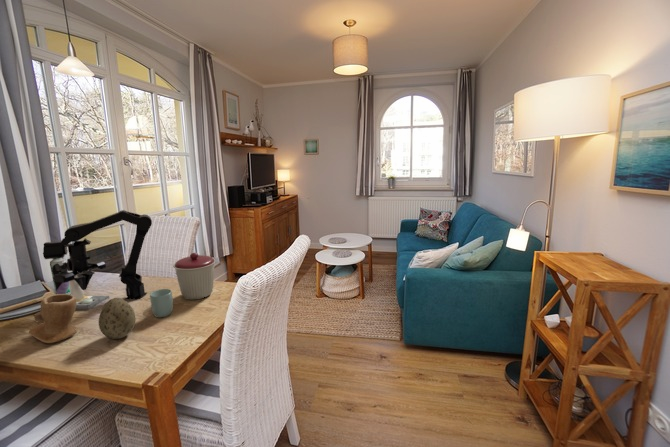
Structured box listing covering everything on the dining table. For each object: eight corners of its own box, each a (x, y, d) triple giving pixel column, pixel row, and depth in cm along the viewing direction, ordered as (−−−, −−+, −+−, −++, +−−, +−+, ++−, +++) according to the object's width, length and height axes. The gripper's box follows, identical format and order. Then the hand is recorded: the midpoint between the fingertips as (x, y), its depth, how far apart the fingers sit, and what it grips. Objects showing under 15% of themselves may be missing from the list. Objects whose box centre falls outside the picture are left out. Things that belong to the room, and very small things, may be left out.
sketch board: (109, 297, 142) (108, 293, 142) (89, 309, 130) (88, 305, 130) (75, 297, 142) (74, 293, 142) (51, 309, 130) (50, 305, 130)
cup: (176, 314, 127) (174, 292, 125) (156, 321, 121) (153, 298, 119) (169, 308, 132) (167, 287, 130) (149, 315, 126) (147, 292, 124)
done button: (95, 301, 136) (94, 298, 135) (88, 306, 132) (87, 302, 131) (86, 301, 136) (85, 298, 135) (78, 306, 132) (78, 302, 131)
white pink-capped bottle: (87, 296, 140) (83, 272, 138) (79, 301, 136) (75, 276, 133) (77, 296, 140) (73, 272, 138) (69, 301, 136) (64, 275, 133)
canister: (172, 294, 146) (167, 252, 142) (210, 284, 158) (207, 245, 153) (182, 307, 133) (177, 262, 128) (223, 296, 144) (220, 253, 140)
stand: (68, 313, 127) (66, 306, 127) (52, 321, 121) (51, 314, 120) (51, 313, 127) (49, 306, 127) (35, 321, 121) (33, 314, 120)
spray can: (62, 299, 140) (54, 257, 136) (53, 298, 141) (45, 256, 137) (74, 294, 145) (67, 254, 141) (65, 293, 146) (58, 253, 142)
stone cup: (87, 332, 114) (81, 295, 111) (46, 349, 103) (37, 308, 100) (68, 321, 121) (62, 286, 118) (28, 336, 110) (20, 298, 107)
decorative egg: (128, 325, 118) (123, 289, 115) (143, 334, 113) (138, 296, 110) (95, 339, 109) (89, 300, 106) (110, 349, 104) (104, 308, 101)
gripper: (83, 248, 139) (88, 280, 142) (38, 261, 121) (45, 297, 124) (104, 249, 137) (109, 282, 141) (61, 263, 119) (68, 299, 123)
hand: (84, 289), depth 132 cm, fingers closed
